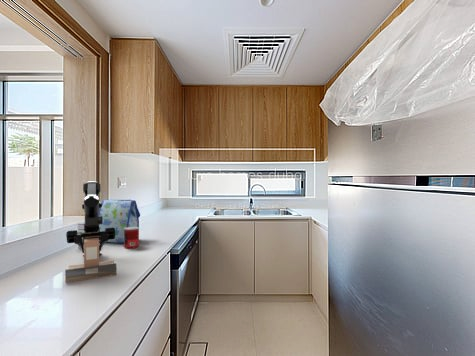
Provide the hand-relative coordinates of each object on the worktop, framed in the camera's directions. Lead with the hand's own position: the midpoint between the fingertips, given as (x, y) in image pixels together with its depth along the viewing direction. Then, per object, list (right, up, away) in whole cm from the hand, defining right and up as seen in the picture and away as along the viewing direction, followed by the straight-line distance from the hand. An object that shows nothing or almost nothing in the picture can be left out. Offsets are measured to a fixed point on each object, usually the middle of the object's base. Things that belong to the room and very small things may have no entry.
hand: (91, 251), depth 122 cm
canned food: (0, -9, +46) cm, 47 cm away
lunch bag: (-14, -9, +64) cm, 66 cm away
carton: (-1, -7, +1) cm, 7 cm away
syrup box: (-27, -9, +47) cm, 55 cm away
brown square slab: (-1, -9, +2) cm, 9 cm away
